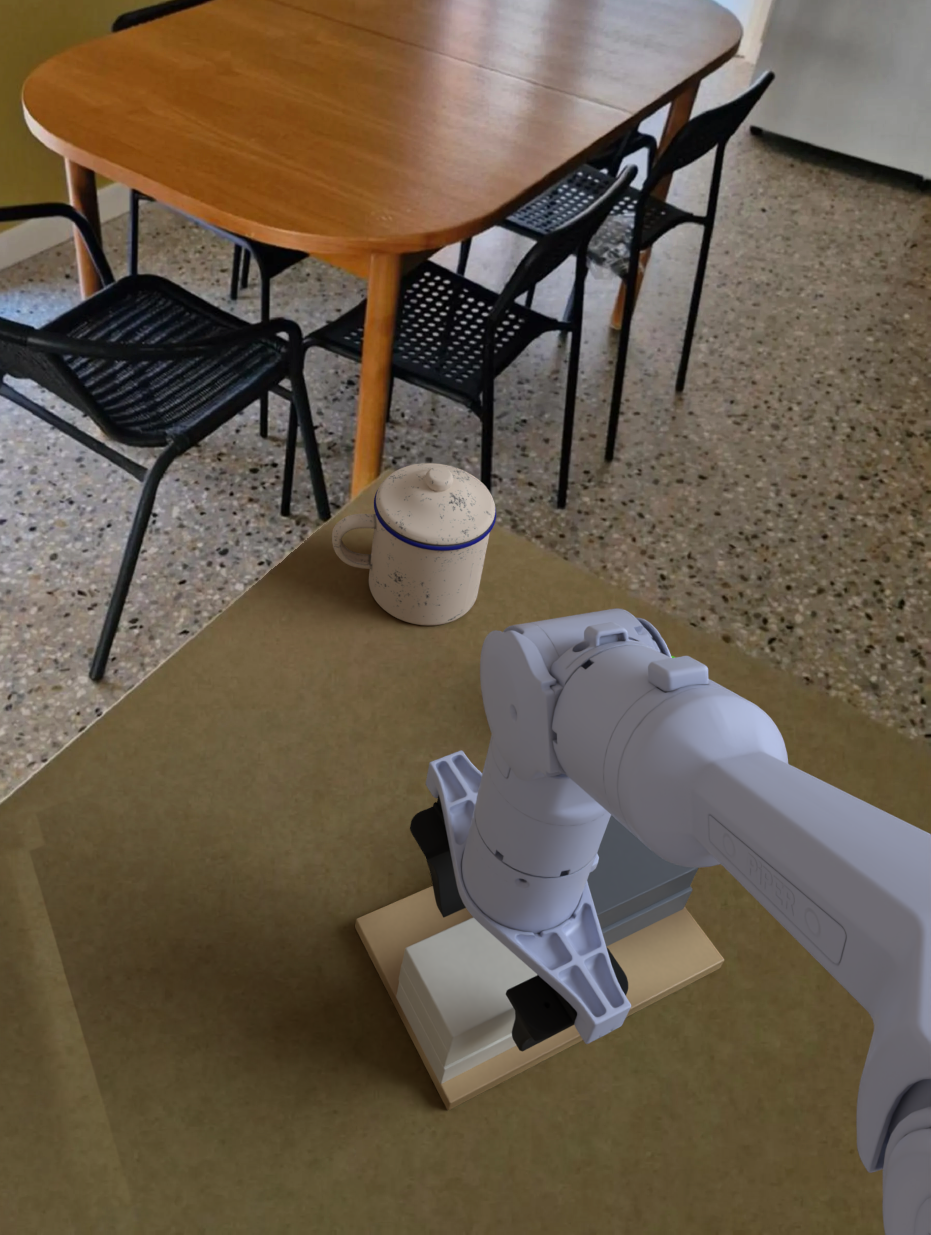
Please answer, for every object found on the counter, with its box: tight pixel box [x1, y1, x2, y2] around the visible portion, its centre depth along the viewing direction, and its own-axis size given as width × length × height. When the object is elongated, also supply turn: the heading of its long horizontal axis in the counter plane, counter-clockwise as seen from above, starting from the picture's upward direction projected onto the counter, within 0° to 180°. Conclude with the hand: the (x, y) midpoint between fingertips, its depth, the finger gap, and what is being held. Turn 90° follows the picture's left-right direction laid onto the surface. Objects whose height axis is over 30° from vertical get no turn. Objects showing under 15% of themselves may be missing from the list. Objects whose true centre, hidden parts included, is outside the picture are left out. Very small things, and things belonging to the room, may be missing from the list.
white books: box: [396, 965, 516, 1084], centre depth 60 cm, size 5×8×4 cm, turn 116°
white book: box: [402, 918, 537, 1052], centre depth 58 cm, size 5×8×2 cm, turn 116°
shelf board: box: [354, 885, 725, 1111], centre depth 65 cm, size 11×18×1 cm, turn 116°
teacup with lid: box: [331, 462, 497, 626], centre depth 84 cm, size 12×9×12 cm
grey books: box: [587, 815, 699, 947], centre depth 66 cm, size 6×9×4 cm, turn 116°
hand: (493, 968), depth 58 cm, fingers open, 7 cm apart
